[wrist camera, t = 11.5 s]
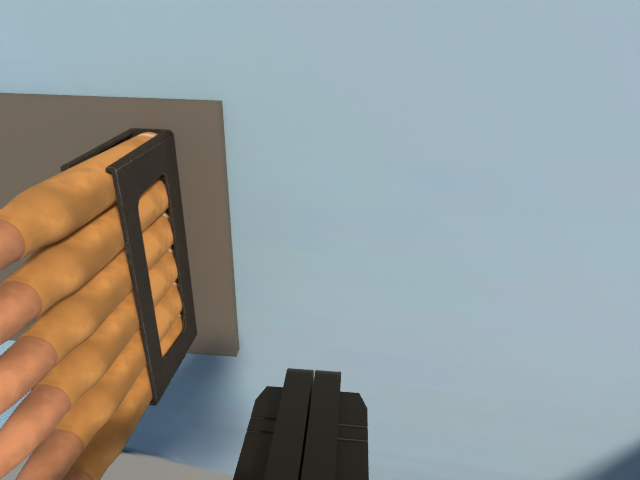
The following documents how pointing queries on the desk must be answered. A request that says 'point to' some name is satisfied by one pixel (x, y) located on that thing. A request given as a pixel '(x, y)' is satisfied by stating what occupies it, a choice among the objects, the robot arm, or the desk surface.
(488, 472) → the desk surface
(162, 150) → the ammunition clip
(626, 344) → the desk surface
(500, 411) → the desk surface
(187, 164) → the mat
